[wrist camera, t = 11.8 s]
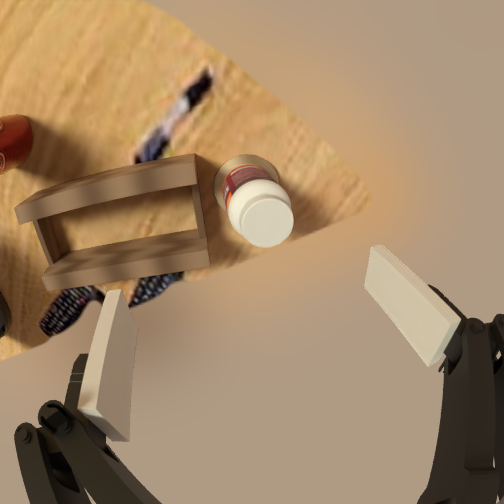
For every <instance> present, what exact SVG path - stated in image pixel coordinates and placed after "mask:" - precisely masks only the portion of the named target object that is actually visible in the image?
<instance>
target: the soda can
mask: <svg viewBox="0 0 504 504" xmlns="http://www.w3.org/2000/svg"><path fill="white" fill-rule="evenodd" d="M32 143H33V132H32V128H31V125H30V123H29V121H28V120H27V119H26V118H25V117H24V116H22V115H18V114H16V115H9V116H3V117H0V175H2V174H4V173H6V172H8V171H10V170H12V169H14V168H16V167H18V166H20V165H21V164H22V163H23V162H24V161H25V160H26V159H27V157H28V156H29V154H30V151H31V148H32Z"/></svg>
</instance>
